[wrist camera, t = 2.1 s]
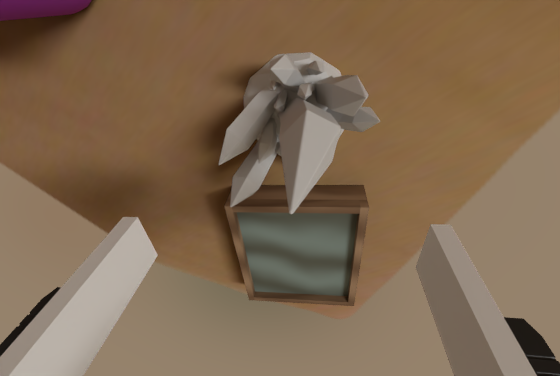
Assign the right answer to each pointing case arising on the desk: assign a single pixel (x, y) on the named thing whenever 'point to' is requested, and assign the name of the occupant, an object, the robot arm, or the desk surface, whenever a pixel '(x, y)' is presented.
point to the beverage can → (39, 8)
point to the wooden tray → (301, 243)
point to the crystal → (293, 123)
